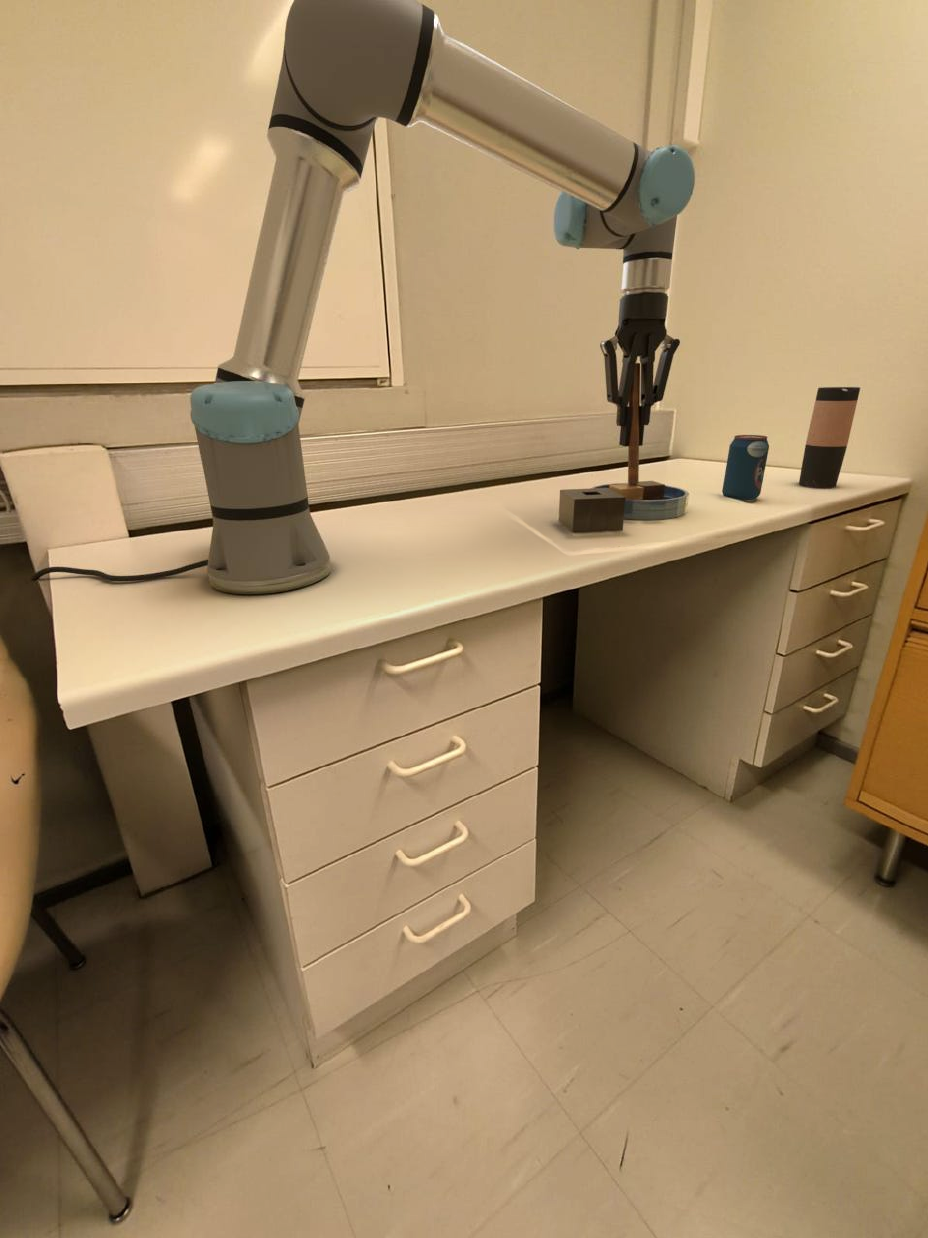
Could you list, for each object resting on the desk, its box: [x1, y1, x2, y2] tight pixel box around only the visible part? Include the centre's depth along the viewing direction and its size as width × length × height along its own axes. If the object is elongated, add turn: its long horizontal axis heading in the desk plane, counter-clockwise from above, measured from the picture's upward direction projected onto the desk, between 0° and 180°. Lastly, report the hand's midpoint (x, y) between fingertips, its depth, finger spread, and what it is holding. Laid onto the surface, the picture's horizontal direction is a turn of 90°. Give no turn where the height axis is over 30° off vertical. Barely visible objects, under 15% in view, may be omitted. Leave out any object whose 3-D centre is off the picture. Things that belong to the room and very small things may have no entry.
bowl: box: [589, 482, 690, 521], centre depth 102 cm, size 17×17×4 cm
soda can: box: [721, 434, 770, 503], centre depth 110 cm, size 7×7×12 cm
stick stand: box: [558, 487, 626, 534], centre depth 91 cm, size 8×8×6 cm
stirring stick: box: [627, 362, 641, 484], centre depth 98 cm, size 2×2×20 cm
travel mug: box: [798, 386, 861, 489], centre depth 120 cm, size 8×8×20 cm
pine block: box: [609, 484, 644, 500], centre depth 101 cm, size 4×4×4 cm
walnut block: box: [634, 480, 666, 501], centre depth 103 cm, size 4×4×4 cm
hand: (630, 444), depth 100 cm, fingers closed on stirring stick, 2 cm apart
